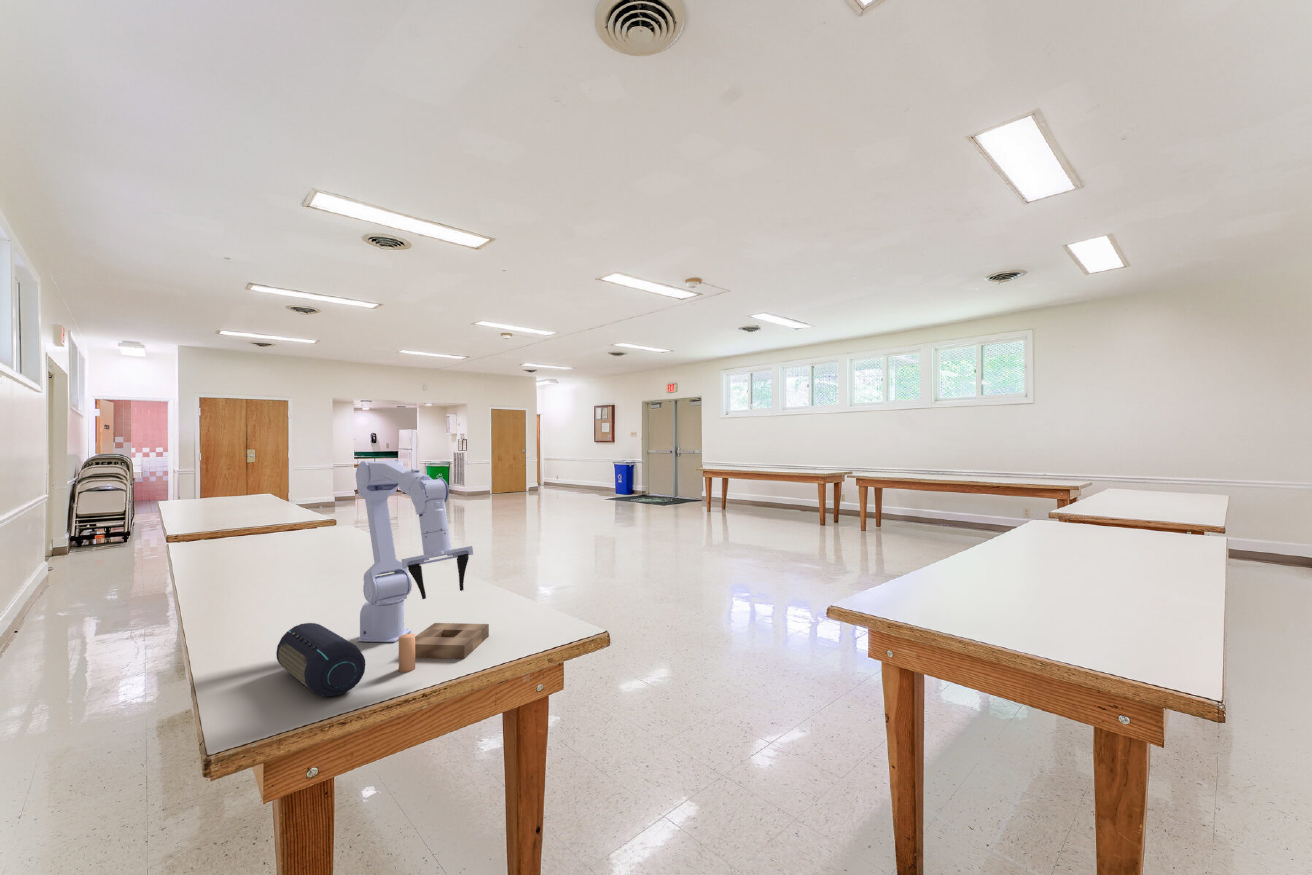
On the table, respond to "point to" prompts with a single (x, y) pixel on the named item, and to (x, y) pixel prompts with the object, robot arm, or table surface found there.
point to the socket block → (450, 640)
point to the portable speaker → (321, 659)
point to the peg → (406, 652)
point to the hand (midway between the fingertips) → (443, 594)
